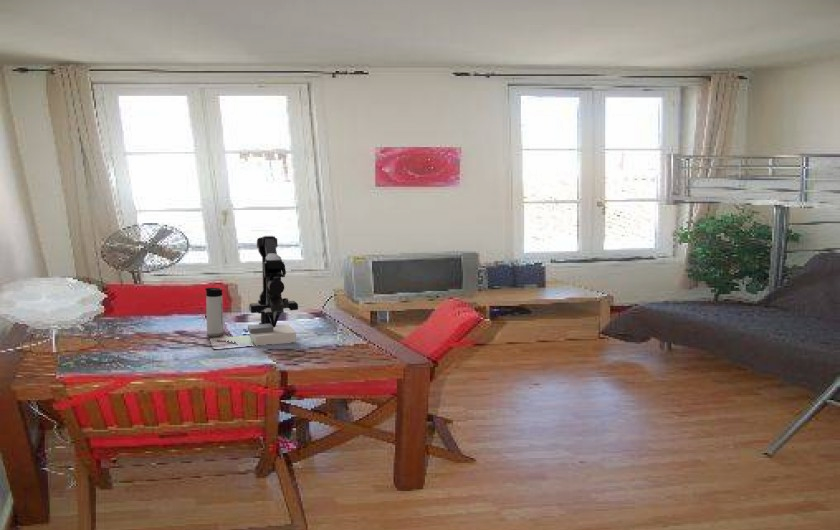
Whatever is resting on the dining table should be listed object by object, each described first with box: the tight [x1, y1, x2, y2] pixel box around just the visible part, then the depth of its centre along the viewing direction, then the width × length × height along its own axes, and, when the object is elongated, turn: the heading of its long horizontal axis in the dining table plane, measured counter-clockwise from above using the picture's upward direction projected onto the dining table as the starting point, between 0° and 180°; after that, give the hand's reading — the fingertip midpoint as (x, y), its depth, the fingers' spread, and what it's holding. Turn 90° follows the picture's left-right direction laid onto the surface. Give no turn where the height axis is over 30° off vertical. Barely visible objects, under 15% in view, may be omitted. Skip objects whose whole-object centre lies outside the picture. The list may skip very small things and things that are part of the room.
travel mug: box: [205, 287, 224, 337], centre depth 217 cm, size 6×7×20 cm
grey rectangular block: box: [247, 323, 274, 335], centre depth 212 cm, size 9×6×2 cm, turn 118°
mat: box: [209, 335, 255, 347], centre depth 208 cm, size 15×15×1 cm
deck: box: [249, 323, 297, 346], centre depth 215 cm, size 14×16×4 cm
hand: (273, 327), depth 215 cm, fingers closed
